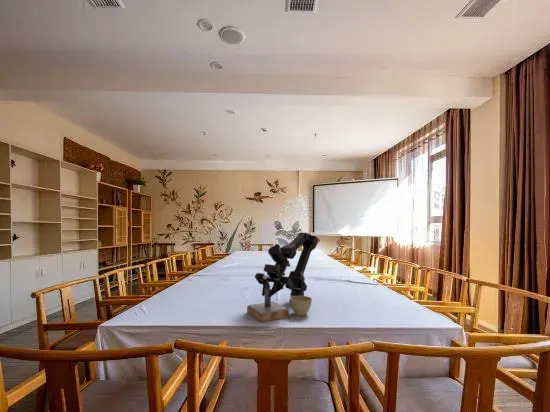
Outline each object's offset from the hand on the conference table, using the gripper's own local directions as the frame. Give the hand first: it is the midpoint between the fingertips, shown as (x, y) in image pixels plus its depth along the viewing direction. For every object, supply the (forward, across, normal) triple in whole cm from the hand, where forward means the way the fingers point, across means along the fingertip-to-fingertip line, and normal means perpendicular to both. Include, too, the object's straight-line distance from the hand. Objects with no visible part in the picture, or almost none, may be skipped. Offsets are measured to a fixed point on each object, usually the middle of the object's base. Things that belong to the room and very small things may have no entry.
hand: (265, 296), depth 130 cm
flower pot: (-2, +12, +14) cm, 18 cm away
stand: (+5, 0, +7) cm, 9 cm away
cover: (+3, 0, +5) cm, 6 cm away
